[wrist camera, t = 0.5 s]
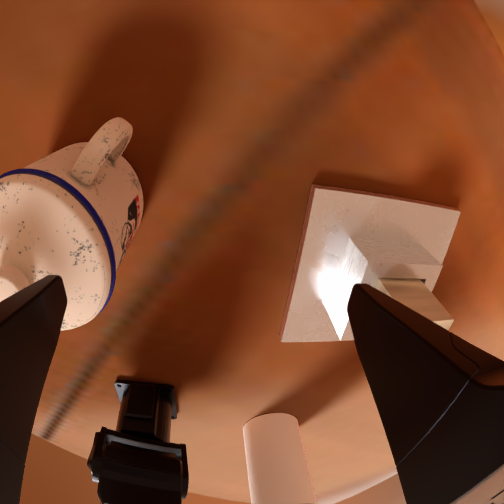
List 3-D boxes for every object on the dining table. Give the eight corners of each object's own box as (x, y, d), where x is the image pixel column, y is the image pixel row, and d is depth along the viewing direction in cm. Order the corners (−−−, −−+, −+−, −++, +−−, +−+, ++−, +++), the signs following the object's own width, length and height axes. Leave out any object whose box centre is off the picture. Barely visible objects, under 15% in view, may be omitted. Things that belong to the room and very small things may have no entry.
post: (387, 299, 27) (429, 362, 20) (348, 299, 26) (385, 368, 19) (403, 259, 25) (454, 318, 18) (361, 256, 24) (409, 322, 17)
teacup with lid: (110, 274, 24) (62, 390, 14) (23, 213, 20) (-64, 297, 10) (199, 153, 20) (180, 222, 10) (95, 78, 17) (-15, 80, 7)
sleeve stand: (405, 330, 31) (423, 359, 27) (279, 334, 28) (288, 371, 25) (454, 207, 24) (485, 228, 20) (311, 183, 22) (332, 206, 18)
